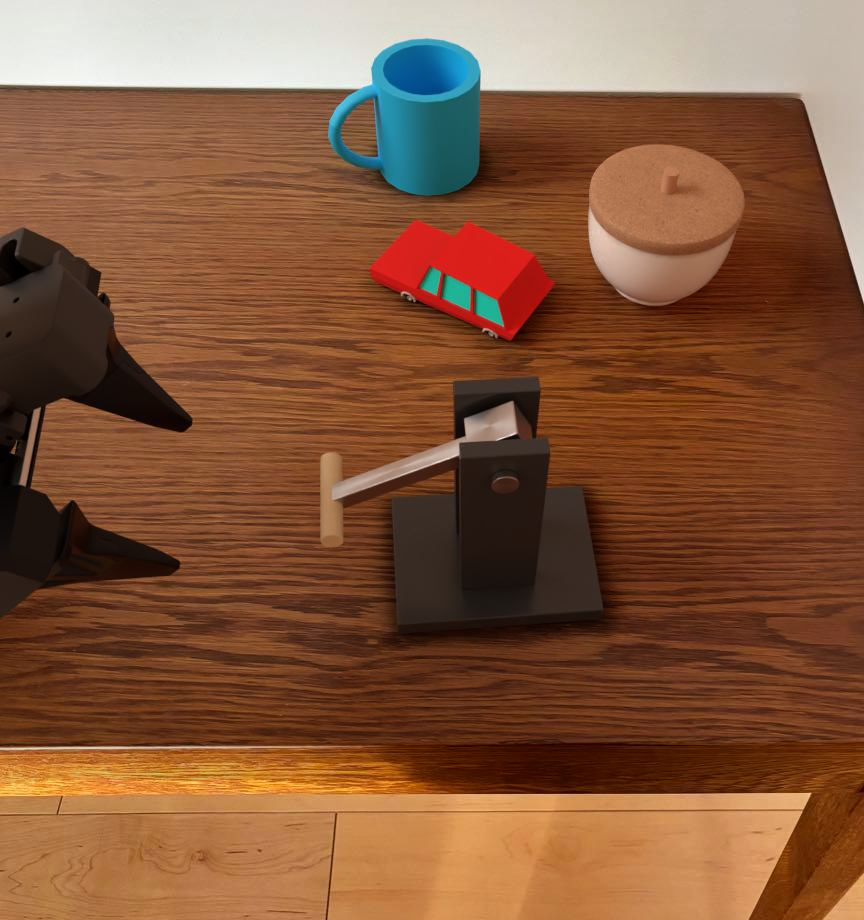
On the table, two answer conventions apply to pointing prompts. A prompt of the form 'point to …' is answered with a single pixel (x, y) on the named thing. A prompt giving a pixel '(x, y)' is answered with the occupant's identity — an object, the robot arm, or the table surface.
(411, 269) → the toy car
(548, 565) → the bracket
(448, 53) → the mug
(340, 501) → the lever
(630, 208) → the trinket box
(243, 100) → the table surface
